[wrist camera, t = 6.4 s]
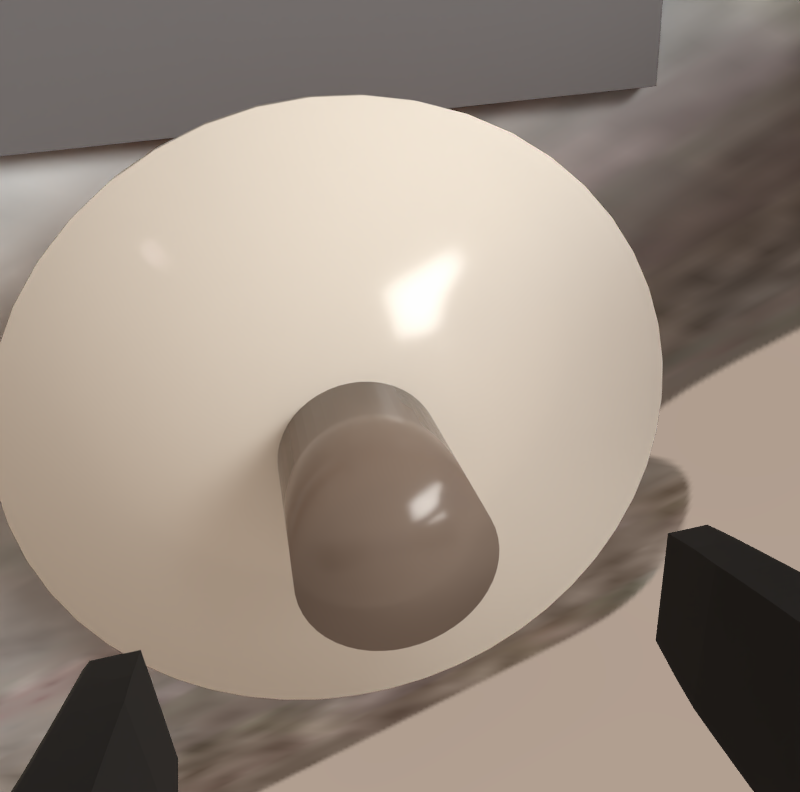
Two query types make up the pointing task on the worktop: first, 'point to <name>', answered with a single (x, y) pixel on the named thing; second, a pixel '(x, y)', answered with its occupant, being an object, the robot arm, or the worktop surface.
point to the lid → (326, 397)
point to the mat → (296, 58)
